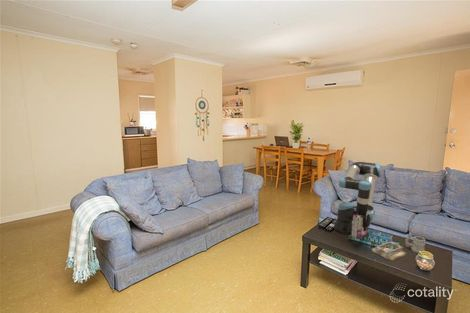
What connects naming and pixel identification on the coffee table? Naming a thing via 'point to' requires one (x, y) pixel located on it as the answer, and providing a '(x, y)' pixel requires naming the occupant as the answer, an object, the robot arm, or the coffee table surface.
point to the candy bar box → (358, 226)
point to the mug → (416, 243)
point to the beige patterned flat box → (389, 251)
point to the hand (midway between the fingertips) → (359, 232)
